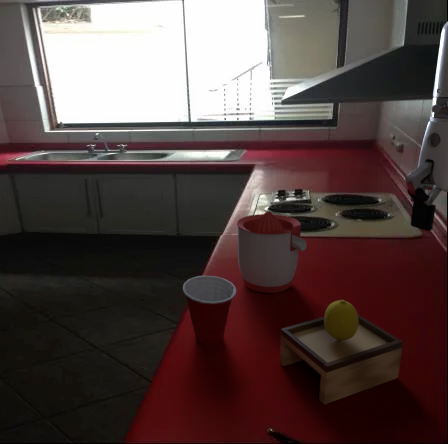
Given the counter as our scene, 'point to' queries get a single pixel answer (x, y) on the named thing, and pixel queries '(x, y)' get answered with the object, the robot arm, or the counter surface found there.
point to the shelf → (343, 356)
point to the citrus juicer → (268, 251)
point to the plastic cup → (209, 306)
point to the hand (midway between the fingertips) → (444, 223)
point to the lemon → (341, 320)
